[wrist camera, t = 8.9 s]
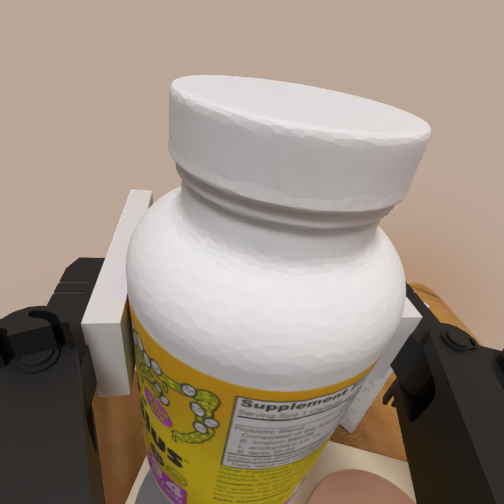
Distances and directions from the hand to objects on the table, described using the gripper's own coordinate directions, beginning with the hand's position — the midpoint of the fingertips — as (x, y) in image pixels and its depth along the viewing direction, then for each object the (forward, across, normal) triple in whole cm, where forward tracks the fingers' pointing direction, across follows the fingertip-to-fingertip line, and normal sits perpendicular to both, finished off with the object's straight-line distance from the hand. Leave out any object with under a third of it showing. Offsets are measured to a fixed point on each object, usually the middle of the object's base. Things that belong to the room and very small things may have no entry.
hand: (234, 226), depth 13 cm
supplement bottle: (-5, 0, -7) cm, 9 cm away
